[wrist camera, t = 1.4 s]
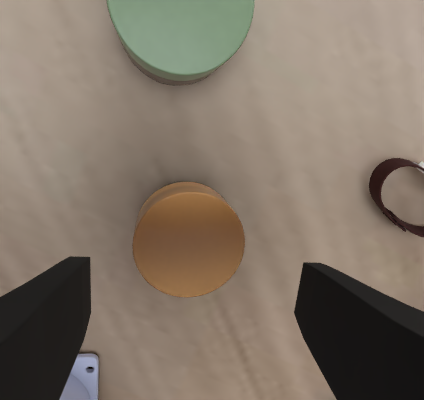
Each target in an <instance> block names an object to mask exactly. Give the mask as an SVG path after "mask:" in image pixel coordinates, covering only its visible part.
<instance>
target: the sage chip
mask: <svg viewBox="0 0 424 400" xmlns="http://www.w3.org/2000/svg"><path fill="white" fill-rule="evenodd" d="M107 6H108V10H109V13H110V17H111V20H112V22H113V24H114V27H115V29H116V31H117V33H118V36H119V38H120V40H121V42H122V44H123V45H124V47H125V49H126V50H127V52H128V53H129V54H130V56H131V57H132V58H133V59H134V60H135V61H136V62H137V63H138V64H139V65H141V66H142V67H143V68H144V69H146V70H147V71H149V72H150V73H152V74H154V75H157V76H159V77H162V78H165V79H168V80H174V81H189V80H195V79H199V78H201V77H204V76H206V75H208V74H210V73H212V72H213V71H215V70H216V69H217V68H219V67H220V66H221V65H222V64H224V63H225V62H226V61H227V60H229V59H230V58H231V57H232V56H233V55H234V54H235V53H236V51H237V50H238V49H239V47H240V46H241V44H242V43H243V41H244V39H245V38H246V35H247V33H248V31H249V28H250V25H251V22H252V18H253V12H254V0H107Z"/></svg>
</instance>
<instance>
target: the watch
mask: <svg viewBox="0 0 424 400" xmlns="http://www.w3.org/2000/svg"><path fill="white" fill-rule="evenodd" d="M405 166H412V167H416V168H417V169H418V170H419V171H421V172H422V173H423V174H424V163H423V162H420V163H419V164H417V163H415V162H411V161H409V160H405V159H401V158H392V159H388V160H385V161H384V162H382V163H380V164H379V165H378V166H377V167H376V168H375V169H374V171H373V173H372V175H371V177H370V182H369V190H370V194H371V196H372V198H373V200H374V201H375V203H376V204H377V205H378V207H379V208H380V209H381V210H382V211H383V214H385V215H386V216H387V217H388V218H389V219H390V220H391V221H392V222H393V223H394V224H395V225H397V226H398V227H400V228H401V229H402V230H403V231H405V232H406V229H407V230H409V231H410V232H412V233H414V234H416V235H418V236H420V237H424V226H423V227H422V226H414V225H411V224H408V223H406V222H404V221H402V220H400V219H399V218H398V217H396V216H395V215H394V214H393V213H392V212H391V211H390V210H388V209H387V208H385V207H384V205H383V202H382V200H381V188H382V185H383V182H384V180H385V179H386V177H387V176H388V175H389V174H390V173H391V172H392V171H394V170H396V169H398V168H400V167H405ZM389 214H390V215H391V216H392V217H393V218H392V217H391V216H390V215H389ZM405 228H406V229H405Z"/></svg>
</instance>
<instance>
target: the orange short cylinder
mask: <svg viewBox="0 0 424 400" xmlns="http://www.w3.org/2000/svg"><path fill="white" fill-rule="evenodd" d="M244 247H245V238H244V231H243V227H242V224H241V222H240V220H239V218H238V216H237V215H236V213H235V212H234V211H233V209H232V208H231V207H230V206H229V205H228V203H227V202H226V201H225V200H224V199H223V198H222V197H221V196H220V195H219V194H218V193H217V192H216V191H215V190H213V189H211V188H210V187H208V186H205V185H203V184H199V183H195V182H178V183H173V184H170V185H167V186H165V187H163V188H161V189H159V190H157V191H156V192H155V193H153V194H152V195H151V196H150V197H149V198H148V199H147V200H146V202H145V203H144V204H143V206H142V208H141V210H140V212H139V214H138V217H137V221H136V226H135V232H134V237H133V256H134V260H135V263H136V266H137V268H138V270H139V272H140V273H141V275H142V276H143V278H144V279H145V280H146V281H147V282H148V283H149V284H150V285H152V286H153V287H154V288H156V289H157V290H159V291H161V292H163V293H165V294H169V295H172V296H177V297H195V296H201V295H204V294H207V293H209V292H212V291H214V290H216V289H217V288H219V287H220V286H222V285H223V284H224V283H226V282H227V281H228V280H229V279H230V278H231V276H232V275H233V274H234V273H235V271H236V270H237V268H238V266H239V264H240V262H241V260H242V256H243V253H244Z"/></svg>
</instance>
